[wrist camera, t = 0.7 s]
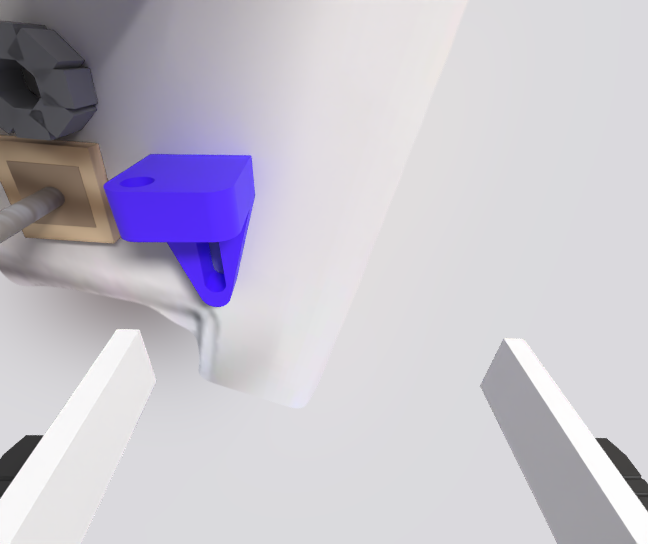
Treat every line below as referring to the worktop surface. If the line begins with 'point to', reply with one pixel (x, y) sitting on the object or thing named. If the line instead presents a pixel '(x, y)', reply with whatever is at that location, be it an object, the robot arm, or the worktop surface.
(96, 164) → the peg base board
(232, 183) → the bracket
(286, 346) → the worktop surface
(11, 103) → the dark grey gear
